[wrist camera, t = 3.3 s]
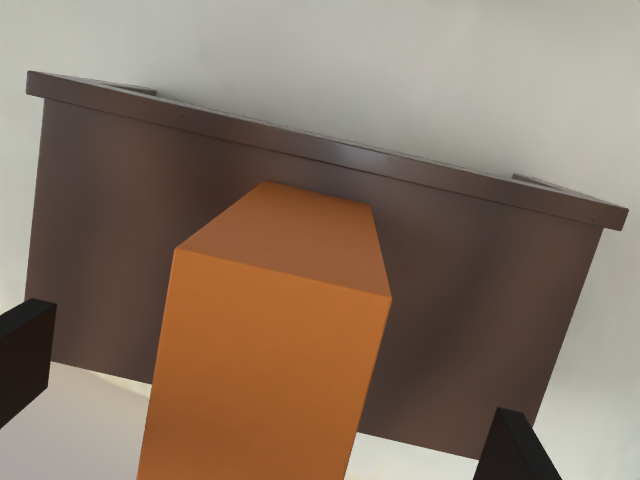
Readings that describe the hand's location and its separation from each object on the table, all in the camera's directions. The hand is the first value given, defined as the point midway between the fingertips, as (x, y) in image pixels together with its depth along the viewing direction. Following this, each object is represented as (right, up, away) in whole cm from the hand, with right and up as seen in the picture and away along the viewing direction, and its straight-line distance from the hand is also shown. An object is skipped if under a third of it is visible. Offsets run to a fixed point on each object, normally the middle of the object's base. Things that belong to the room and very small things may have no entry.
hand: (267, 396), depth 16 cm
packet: (0, +2, +10) cm, 10 cm away
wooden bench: (+1, +5, +20) cm, 20 cm away
